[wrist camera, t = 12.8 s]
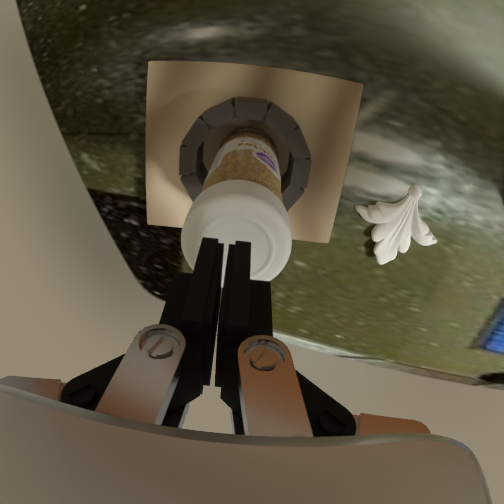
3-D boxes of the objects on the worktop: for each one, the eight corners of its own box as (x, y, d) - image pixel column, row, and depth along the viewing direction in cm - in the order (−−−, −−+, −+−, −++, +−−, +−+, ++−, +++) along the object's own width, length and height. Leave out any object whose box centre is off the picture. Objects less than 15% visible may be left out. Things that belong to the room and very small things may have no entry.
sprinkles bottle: (288, 143, 24) (315, 230, 12) (259, 191, 26) (258, 308, 15) (234, 115, 23) (206, 176, 11) (207, 166, 25) (163, 268, 14)
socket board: (358, 82, 22) (376, 87, 18) (325, 234, 30) (334, 262, 26) (154, 60, 21) (134, 61, 18) (152, 216, 29) (136, 242, 25)
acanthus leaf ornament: (433, 235, 30) (440, 245, 28) (376, 262, 32) (381, 273, 30) (416, 174, 26) (425, 181, 25) (352, 203, 28) (357, 213, 27)
